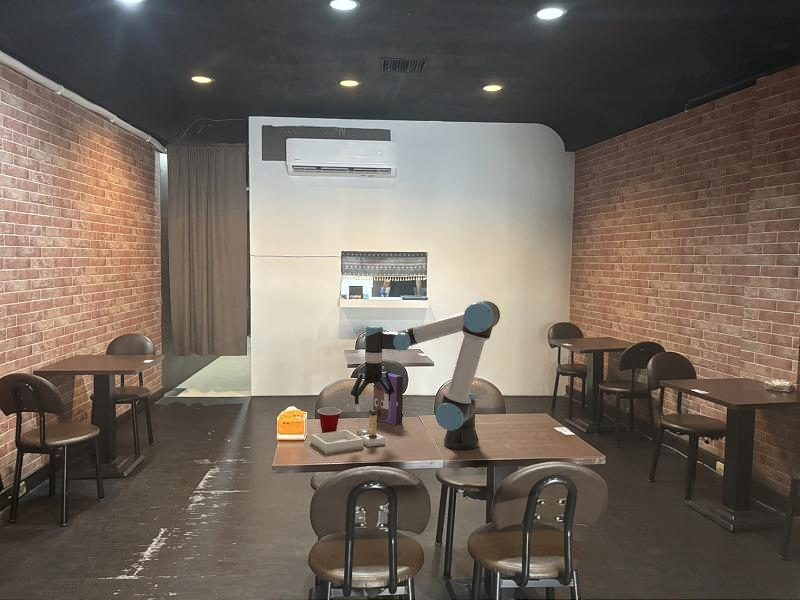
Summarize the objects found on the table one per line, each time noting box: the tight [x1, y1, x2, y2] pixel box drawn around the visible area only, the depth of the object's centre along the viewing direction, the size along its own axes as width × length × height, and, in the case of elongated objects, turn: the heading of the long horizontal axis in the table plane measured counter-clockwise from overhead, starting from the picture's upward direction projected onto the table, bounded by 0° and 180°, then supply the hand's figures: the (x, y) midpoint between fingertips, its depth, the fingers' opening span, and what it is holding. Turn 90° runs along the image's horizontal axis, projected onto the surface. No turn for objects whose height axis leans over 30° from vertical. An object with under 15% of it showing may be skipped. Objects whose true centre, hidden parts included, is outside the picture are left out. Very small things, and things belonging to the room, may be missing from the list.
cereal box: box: [372, 371, 404, 426], centre depth 308 cm, size 17×5×24 cm, turn 40°
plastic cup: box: [317, 406, 342, 433], centre depth 280 cm, size 11×11×12 cm
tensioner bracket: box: [355, 428, 386, 448], centre depth 272 cm, size 16×8×4 cm, turn 30°
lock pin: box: [368, 409, 377, 438], centre depth 268 cm, size 4×4×14 cm
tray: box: [310, 429, 364, 455], centre depth 264 cm, size 17×17×4 cm
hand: (372, 410), depth 268 cm, fingers open, 13 cm apart
